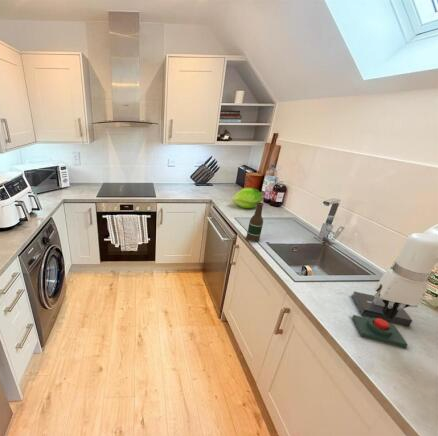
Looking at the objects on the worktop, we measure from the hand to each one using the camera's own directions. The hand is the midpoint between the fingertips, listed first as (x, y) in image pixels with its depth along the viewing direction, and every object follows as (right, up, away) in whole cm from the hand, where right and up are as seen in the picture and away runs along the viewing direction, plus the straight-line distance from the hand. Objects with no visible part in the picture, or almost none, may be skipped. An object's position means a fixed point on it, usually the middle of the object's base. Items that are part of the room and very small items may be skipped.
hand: (387, 315), depth 81 cm
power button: (0, -4, +2) cm, 5 cm away
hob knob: (+9, 0, +11) cm, 15 cm away
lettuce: (0, +43, +118) cm, 126 cm away
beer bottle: (-16, +20, +67) cm, 72 cm away
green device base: (0, -7, +3) cm, 8 cm away
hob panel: (+9, -3, +13) cm, 16 cm away
